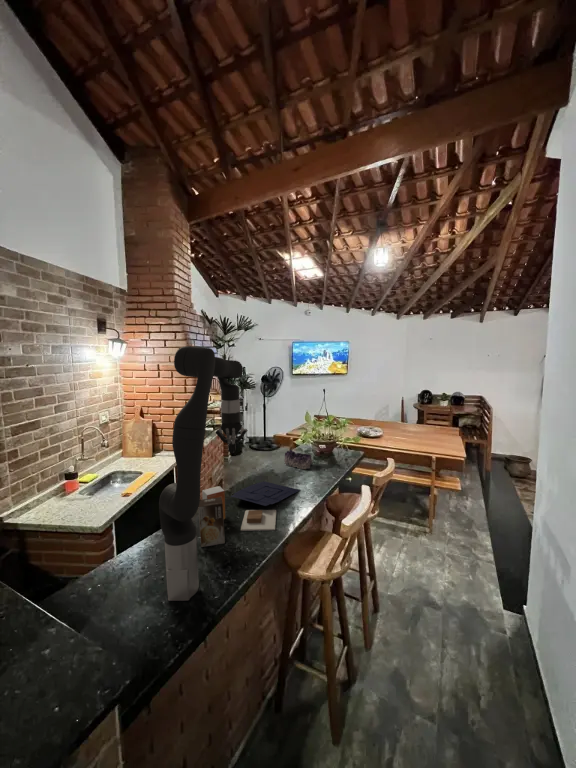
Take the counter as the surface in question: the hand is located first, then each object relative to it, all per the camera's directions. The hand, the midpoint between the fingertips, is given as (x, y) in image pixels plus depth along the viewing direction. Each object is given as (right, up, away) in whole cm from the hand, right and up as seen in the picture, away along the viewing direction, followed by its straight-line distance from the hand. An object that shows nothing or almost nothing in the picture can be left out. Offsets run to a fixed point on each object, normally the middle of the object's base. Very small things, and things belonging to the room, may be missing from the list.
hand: (232, 452), depth 134 cm
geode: (+29, -24, +74) cm, 84 cm away
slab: (+8, -29, +12) cm, 33 cm away
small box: (-10, -32, +10) cm, 34 cm away
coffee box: (-7, -33, -7) cm, 34 cm away
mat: (+10, -31, +8) cm, 34 cm away
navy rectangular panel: (+12, -29, +31) cm, 44 cm away
